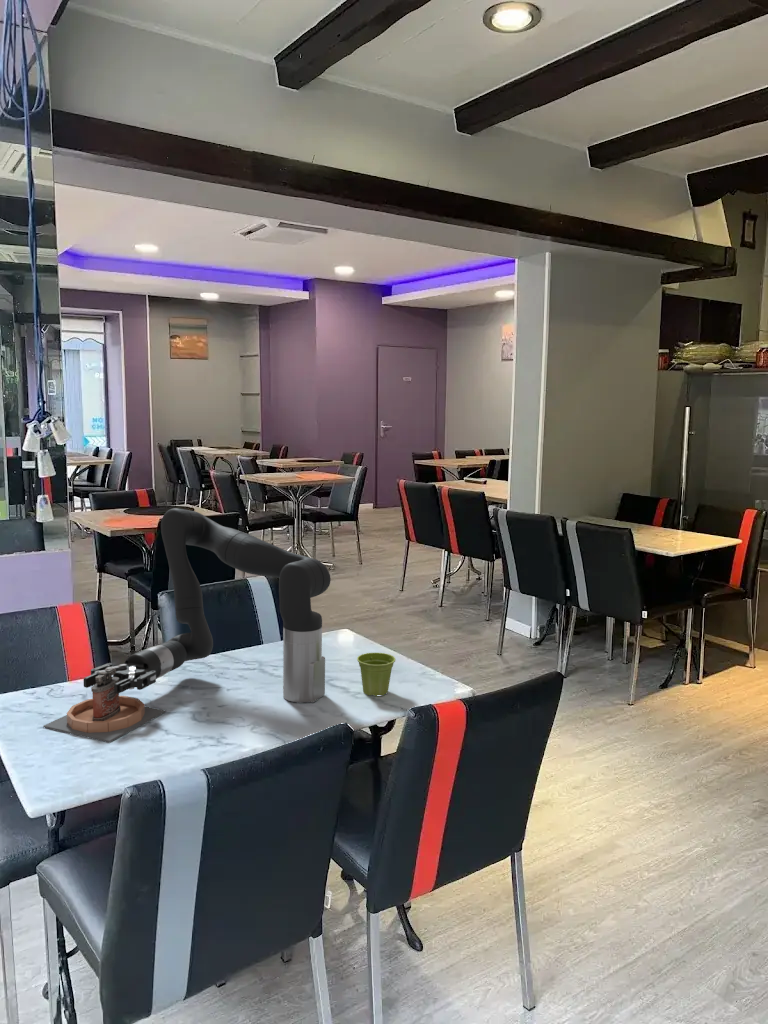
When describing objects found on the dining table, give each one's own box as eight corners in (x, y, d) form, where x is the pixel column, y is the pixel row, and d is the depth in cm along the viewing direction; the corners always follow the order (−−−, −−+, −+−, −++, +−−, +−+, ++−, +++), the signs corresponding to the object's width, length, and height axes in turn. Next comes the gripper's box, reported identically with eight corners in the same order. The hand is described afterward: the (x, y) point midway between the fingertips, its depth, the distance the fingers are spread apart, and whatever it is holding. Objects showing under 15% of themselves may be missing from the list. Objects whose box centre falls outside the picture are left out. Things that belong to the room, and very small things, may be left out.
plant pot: (402, 694, 187) (403, 660, 186) (370, 702, 182) (370, 666, 181) (380, 683, 195) (381, 650, 194) (349, 690, 190) (349, 656, 189)
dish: (158, 711, 173) (158, 702, 173) (109, 737, 159) (108, 727, 158) (104, 700, 179) (104, 691, 179) (52, 724, 165) (51, 715, 164)
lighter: (102, 723, 164) (100, 678, 163) (88, 721, 165) (86, 676, 164) (124, 709, 172) (122, 666, 171) (110, 707, 173) (109, 665, 172)
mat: (166, 712, 174) (166, 710, 174) (109, 742, 157) (109, 740, 157) (104, 699, 180) (103, 697, 180) (43, 727, 164) (43, 725, 164)
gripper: (125, 645, 183) (74, 665, 168) (174, 653, 178) (125, 674, 163) (126, 675, 184) (75, 697, 169) (174, 684, 179) (126, 708, 164)
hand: (100, 686), depth 166 cm, fingers open, 8 cm apart
